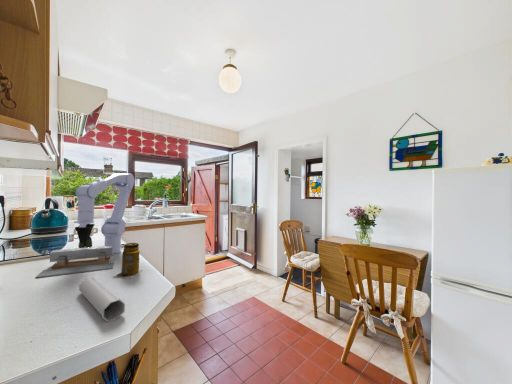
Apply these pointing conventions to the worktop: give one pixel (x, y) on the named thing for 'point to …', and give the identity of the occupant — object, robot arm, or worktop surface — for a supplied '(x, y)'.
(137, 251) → the condiment
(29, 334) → the worktop surface
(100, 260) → the rail stand
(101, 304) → the tube
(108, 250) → the rail
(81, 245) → the character mug
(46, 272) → the mat
